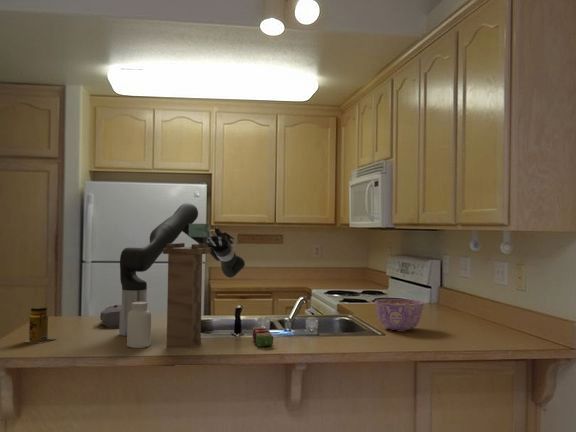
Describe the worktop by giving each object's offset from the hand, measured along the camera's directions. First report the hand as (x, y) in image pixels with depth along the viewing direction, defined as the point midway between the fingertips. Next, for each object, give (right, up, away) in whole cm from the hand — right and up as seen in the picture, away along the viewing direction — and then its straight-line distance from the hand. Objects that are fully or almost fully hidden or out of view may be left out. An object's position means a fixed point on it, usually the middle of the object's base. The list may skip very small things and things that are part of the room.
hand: (211, 229), depth 218 cm
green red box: (+21, -41, -23) cm, 51 cm away
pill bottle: (-21, -40, -29) cm, 54 cm away
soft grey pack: (-41, -41, +14) cm, 60 cm away
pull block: (-1, -3, -5) cm, 6 cm away
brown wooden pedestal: (-6, -40, -25) cm, 47 cm away
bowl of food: (+77, -42, +8) cm, 88 cm away
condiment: (-58, -40, -23) cm, 74 cm away
